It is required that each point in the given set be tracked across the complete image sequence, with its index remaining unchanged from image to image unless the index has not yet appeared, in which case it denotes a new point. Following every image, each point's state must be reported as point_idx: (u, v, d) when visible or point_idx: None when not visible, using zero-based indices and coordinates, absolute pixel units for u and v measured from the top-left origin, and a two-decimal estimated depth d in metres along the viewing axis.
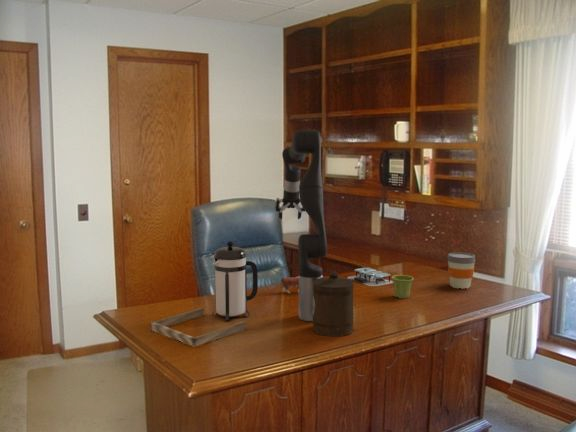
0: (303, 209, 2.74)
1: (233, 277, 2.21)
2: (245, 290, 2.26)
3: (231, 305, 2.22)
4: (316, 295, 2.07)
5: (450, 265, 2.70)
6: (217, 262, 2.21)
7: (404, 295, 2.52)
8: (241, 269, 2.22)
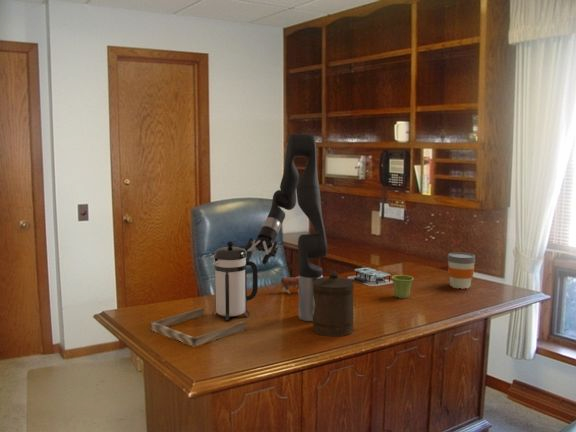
0: (271, 251, 2.39)
1: (233, 277, 2.21)
2: (245, 290, 2.26)
3: (231, 305, 2.22)
4: (316, 295, 2.07)
5: (450, 265, 2.70)
6: (217, 262, 2.21)
7: (404, 295, 2.52)
8: (241, 269, 2.22)
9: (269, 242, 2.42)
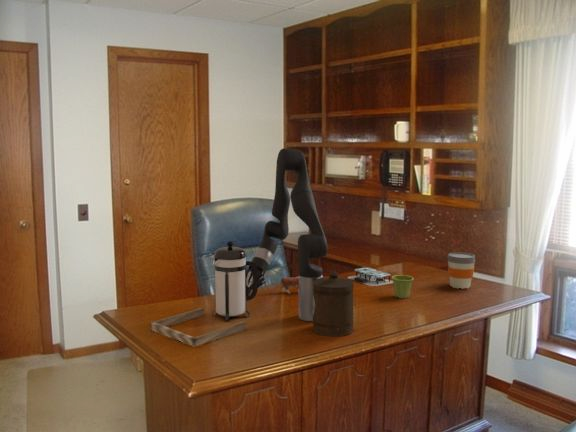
0: None
1: (233, 277, 2.20)
2: (245, 290, 2.26)
3: (231, 305, 2.22)
4: (316, 295, 2.07)
5: (450, 265, 2.70)
6: (217, 262, 2.20)
7: (404, 295, 2.52)
8: (241, 269, 2.22)
9: (260, 274, 2.38)
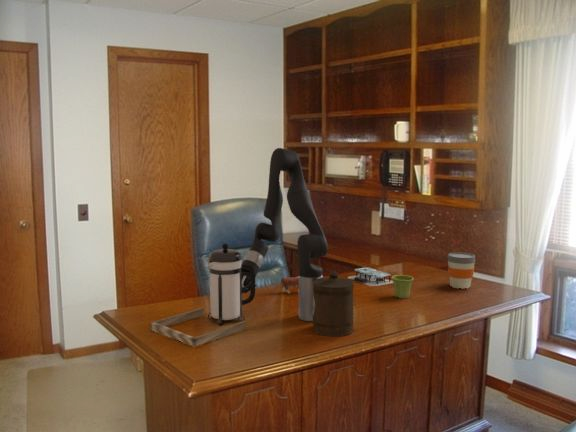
0: (243, 287, 2.30)
1: (226, 280, 2.16)
2: (240, 294, 2.21)
3: (224, 309, 2.17)
4: (316, 295, 2.07)
5: (450, 265, 2.70)
6: (210, 264, 2.17)
7: (404, 295, 2.52)
8: (235, 272, 2.17)
9: None
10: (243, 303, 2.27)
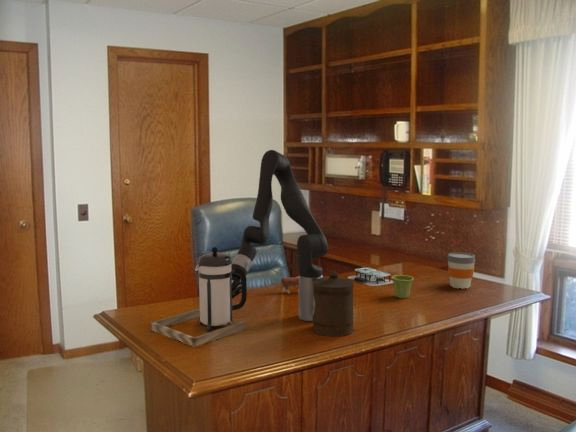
0: None
1: (215, 285, 2.09)
2: (230, 299, 2.14)
3: (213, 314, 2.11)
4: (316, 295, 2.07)
5: (450, 265, 2.70)
6: (199, 268, 2.10)
7: (404, 295, 2.52)
8: (224, 277, 2.10)
9: (237, 282, 2.25)
10: (234, 308, 2.20)
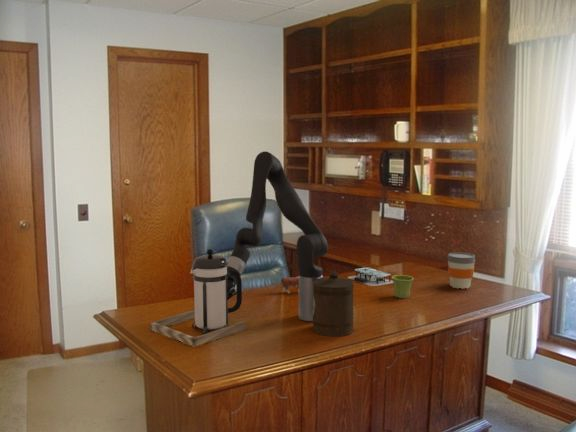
0: None
1: (211, 288, 2.05)
2: (226, 302, 2.10)
3: (209, 318, 2.07)
4: (316, 295, 2.07)
5: (450, 265, 2.70)
6: (194, 271, 2.06)
7: (404, 295, 2.52)
8: (220, 279, 2.06)
9: (230, 284, 2.22)
10: (229, 311, 2.16)
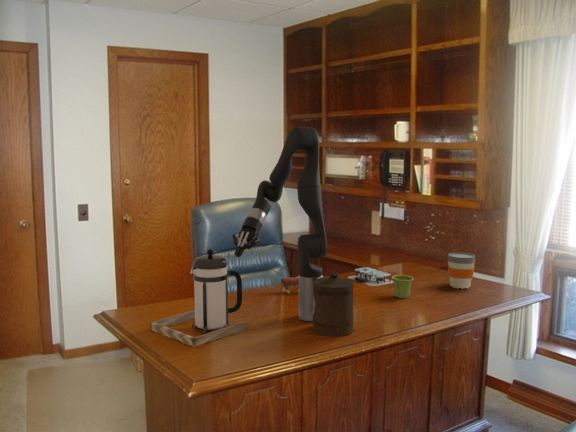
0: (246, 243, 2.29)
1: (211, 288, 2.05)
2: (226, 302, 2.10)
3: (209, 318, 2.07)
4: (316, 295, 2.07)
5: (450, 265, 2.70)
6: (194, 271, 2.06)
7: (404, 295, 2.52)
8: (220, 279, 2.06)
9: (253, 233, 2.32)
10: (229, 311, 2.16)
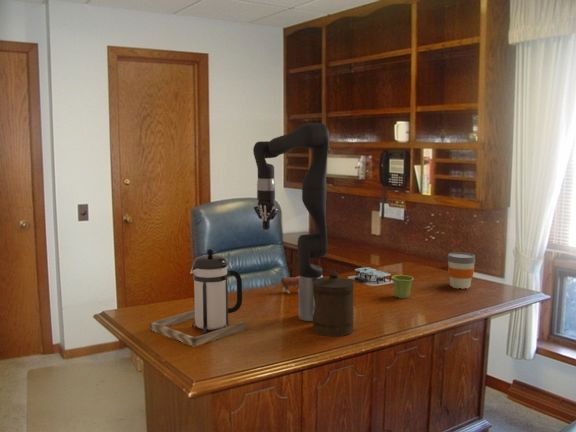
0: (268, 217, 2.43)
1: (211, 288, 2.05)
2: (226, 302, 2.10)
3: (209, 318, 2.07)
4: (316, 295, 2.07)
5: (450, 265, 2.70)
6: (194, 271, 2.06)
7: (404, 295, 2.52)
8: (220, 279, 2.06)
9: (269, 205, 2.42)
10: (229, 311, 2.16)
